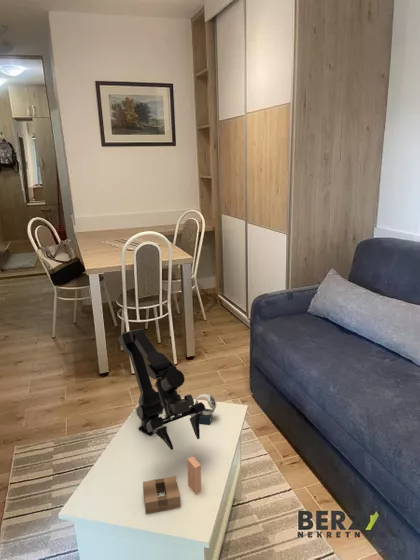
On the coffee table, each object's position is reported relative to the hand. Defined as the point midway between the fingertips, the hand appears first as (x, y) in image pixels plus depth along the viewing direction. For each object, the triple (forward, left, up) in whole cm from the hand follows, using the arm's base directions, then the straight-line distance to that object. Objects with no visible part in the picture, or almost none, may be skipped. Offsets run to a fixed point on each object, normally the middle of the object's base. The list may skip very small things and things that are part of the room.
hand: (185, 444), depth 126 cm
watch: (-12, +27, -13) cm, 32 cm away
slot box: (-1, -11, -13) cm, 17 cm away
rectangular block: (+5, -2, -13) cm, 14 cm away
